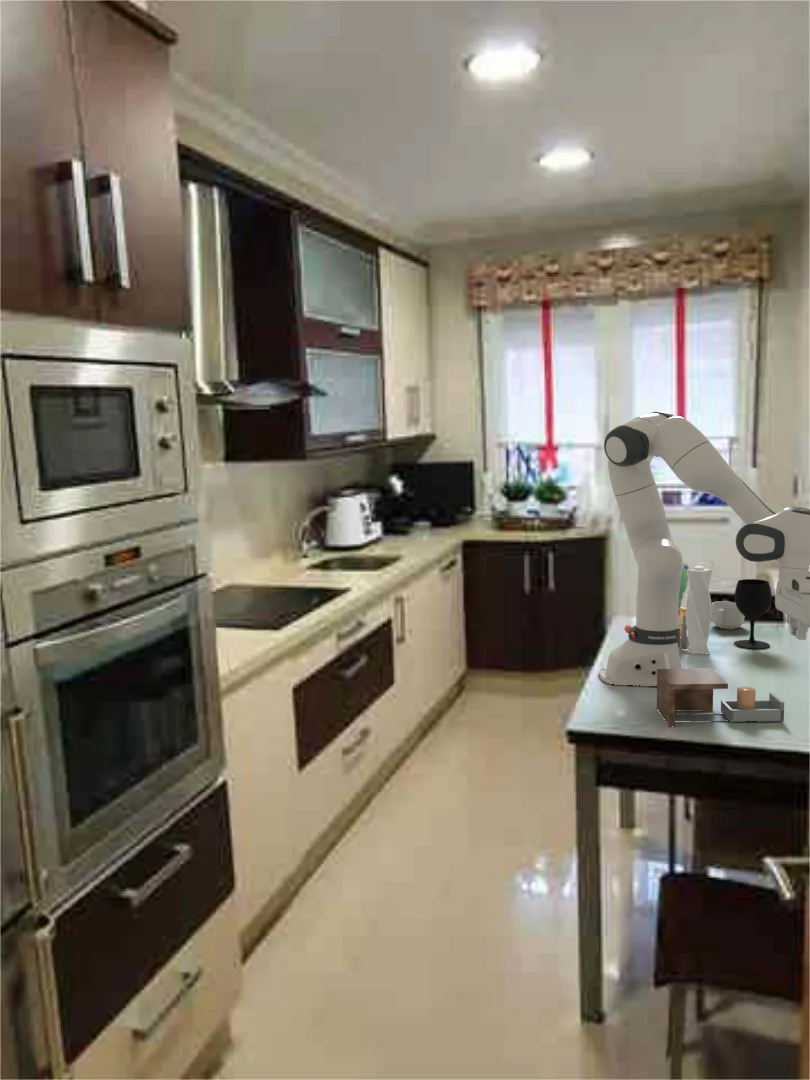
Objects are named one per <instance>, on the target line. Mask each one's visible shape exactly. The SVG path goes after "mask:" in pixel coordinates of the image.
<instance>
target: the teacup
mask: <svg viewBox="0 0 810 1080" xmlns="http://www.w3.org/2000/svg"><path fill="white" fill-rule="evenodd" d="M711 606H712V617H711V623H713V624H714V625H715V626H716V627H717V628H719V627H720V628H719V629H723V628H725V629H724V630H736V629H735V628H737V629H738V628H739V627H741V626H743V624H744V622H745V618H746V617H745V616H744V615H743V614H742V613H741V612H740V611H739V610H738V608H737V606H736V603H735V601H734V602H733V601H725V600H723V601H722V600H721V601H714V602H711Z"/></svg>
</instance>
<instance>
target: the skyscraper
mask: <svg viewBox="0 0 810 1080" xmlns="http://www.w3.org/2000/svg"><path fill="white" fill-rule="evenodd" d="M704 563H705V564H706V563H707V564H708V563H709V564H712V565H711V568H705V566H704V565H702V564H704ZM714 566H715V562H713V560H703V561H701V562H699V563H698V564H697V565H695V566H694V567H691V568H688V569H687V576H688V582H687V583H688V592H687V597H686V605H685V608H686V615H685V609H684V615H683V623H682V637H681V638H680V640H681V642H680V650H681V649H685V650H686V649H688V650H687V651H685V650H683V651H684V652H683V651H682V652H683V653H684V654H685V655H710V651H709V648H708V641H709V636H710V630H711V625H712V619H711V617H712V605H711V604H712V599H711V593H710V590H709V586H710V582H711V577H712V574H713V573H712V572H713V568H714ZM687 641H688V642H687ZM688 651H689V652H688ZM702 653H703V654H702ZM706 653H708V654H706Z"/></svg>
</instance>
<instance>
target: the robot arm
mask: <svg viewBox="0 0 810 1080" xmlns="http://www.w3.org/2000/svg"><path fill="white" fill-rule="evenodd" d="M603 450H604V453H605V455H606V457H607V458H608V461H607V467H608V469H607V470H608V475H609V476H608V477H609V481H610V485H611V489H612V492H613V496H614V498H615V501H616V504H617V506H618V510H619V513H620V515H621V519H622V521H623V524H624V529H625V532H626V535H627V538H628V542H629V544H630V548H631V551H632V554H633V557H634V560H635V563H636V564H637V569H638V571H637V573H638V574H637V590H636V597H635V600H636V601H635V617H636V618H635V625H633V626H631V625H629V624H627V625H625V626H624V628H623V629H624V631H625V632H626V633H627V634H628V639H627V640H625V641H624V642H622V643H621V644H620V645H619V646H617V647H616V648H614V649H612V650H611V651H610V653H609V655H608V657H607V664H606V666H602V667H601V668H600V669H599V670H598V676H599V679H600V680H601V681H603V682H604V681H605V682H604V683H606V682H607V683H606V684H608V683H609V684H608V685H611V684H614V685H613V686H627V685H633V686H634V687H649V686H657V669H683V667H682V661H681V656H680V648H681V638H680V627H678V614H679V592H680V585H681V575H682V563H683V555H682V551H681V550H680V548H679V547H678V546H677V545H676V544H675V542H674V540H673V538H672V534H671V530H670V528H669V523H668V520H667V516H666V510H665V507H664V505H663V500H662V498H661V495H660V492H659V489H658V487H657V483H656V480H655V477H654V475H653V473H652V469H651V463H652V460H653V459H654V457H659V458H661V459H662V460H663V461H664V462H665V463H666V464H667V466H668V467H669V468H670V470H671V471H672V472H673V473H674V475H675V476H676V477H677V478H678V480H680V481H681V482H682V483H683V484H684V485H686V486H687V487H688V489H691V490H692V491H696V492H700V493H704V494H708V495H711V496H714V497H716V498H718V499H721V501H723V502H725V503H726V504H727V506H728V507H730V508H731V510H733V512H734V513H735V514H736V515H737V516H738V517H739V518H740V519H741V520H742V522H744V523H745V525H743V526H742V527H741V528H740V529H739V530H738V531H737V534H736V537H735V546H736V549H737V552H738V553H739V555H740V556H741V557H742V558H744V559H745V560H747V561H749V562H754V563H764V562H770V561H777V562H778V580H777V583H776V587H775V588H776V589H775V597H774V605H775V609H776V610H778V611H780V612H781V613H782V614H785V615H787V620H788V624H789V634H790V635H791V636H793V637H795V638H796V639H797V640H799V641H806V640H807V632H808V630H809V628H810V572H809V571H808V569H809V565H810V509H809V508H806V507H800V506H787V507H785V508H783V509H782V510H781V511H779V512H775V511H773V510H772V509H770V507H768V506H767V505H766V504H765V503H764V502H763V501H762V500H761V499H760V497H758V495H757V494H756V493H755V492H754V491H753V490H752V489H751V488H750V487H749V486H748V484H746V482H744V481H743V480H742V478H740V476H739V475H737V473H736V472H735V471H734V469H733V468H732V467H731V466H730V464H729V463H728V462H727V461H726V459H724V457H723V456H722V455H721V453H719V451H718V450H717V449H716V447H715V445H713V443H711V441H710V440H709V439H708V438H707V437H706V436H705V434H703V432H701V430H700V429H699V428H697V427H696V426H695V425H694V424H692V423H691V422H690V421H689V420H688V419H686V418H685V417H683V416H680V415H679V416H677V415H676V416H675V415H674V414H673V413H671V412H669V411H666V410H665V411H664V410H659V411H653V412H650V413H647V414H644V415H641V416H637V417H634V418H633V419H631V420H629V421H627V422H625V423H623V424H622V425H618V426H616V427H615V428H613V429H612V430H610V431H609V432H608V433H607V435H606V436H605V438H604V441H603ZM635 685H636V686H635ZM639 685H640V686H639ZM633 686H632V687H633Z"/></svg>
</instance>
